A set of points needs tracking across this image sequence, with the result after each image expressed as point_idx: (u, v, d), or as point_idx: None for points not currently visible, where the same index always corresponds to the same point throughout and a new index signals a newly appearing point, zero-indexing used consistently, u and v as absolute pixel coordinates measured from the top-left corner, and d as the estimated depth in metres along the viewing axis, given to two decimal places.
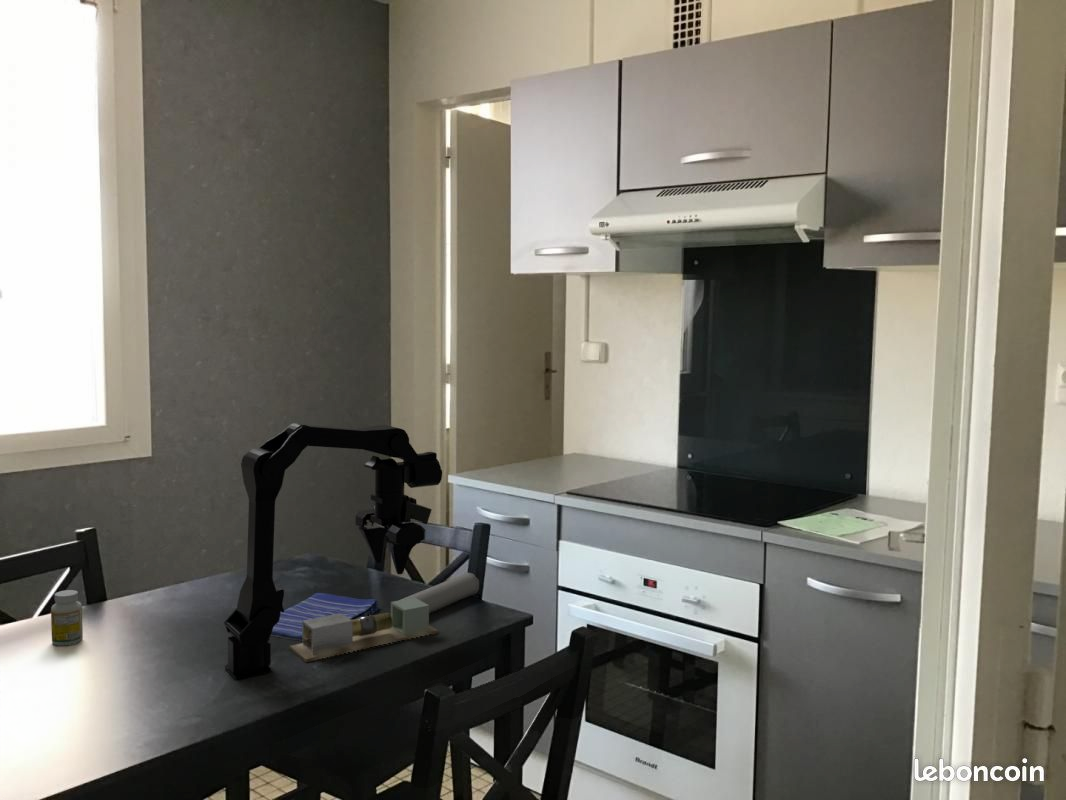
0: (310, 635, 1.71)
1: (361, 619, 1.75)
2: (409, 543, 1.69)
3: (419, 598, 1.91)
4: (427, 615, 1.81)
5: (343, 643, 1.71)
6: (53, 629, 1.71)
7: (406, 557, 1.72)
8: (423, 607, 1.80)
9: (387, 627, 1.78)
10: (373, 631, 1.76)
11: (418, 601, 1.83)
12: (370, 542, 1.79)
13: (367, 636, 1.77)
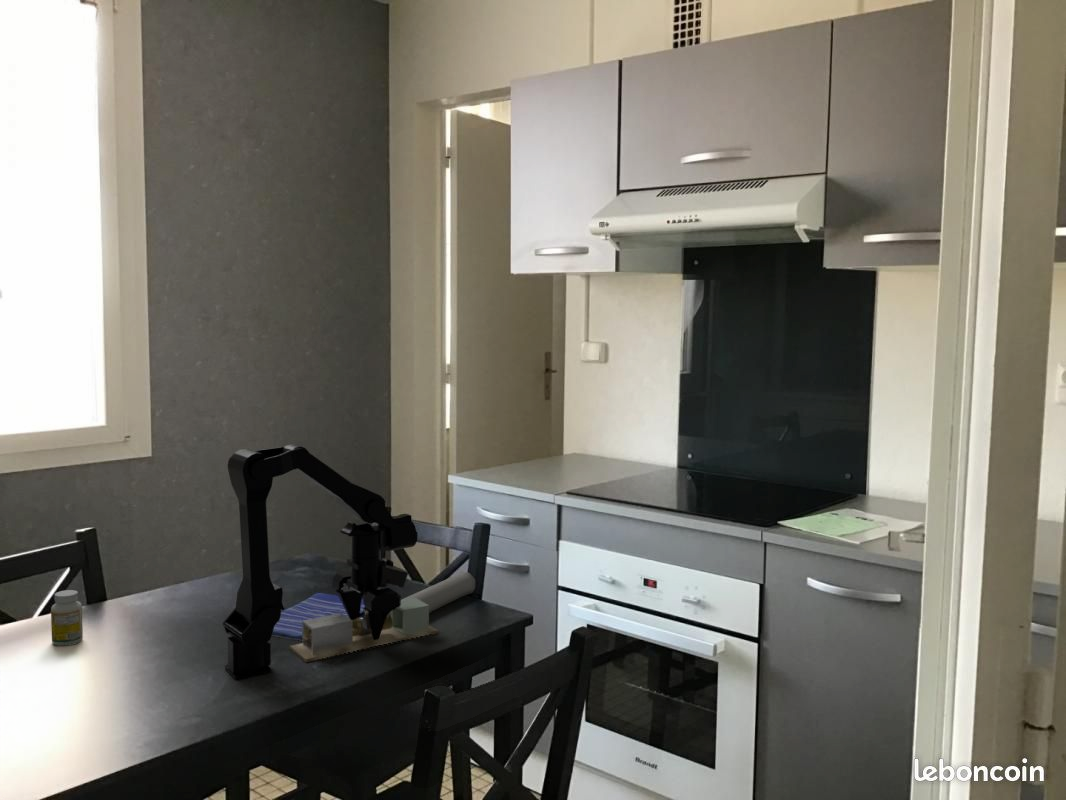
0: (310, 635, 1.71)
1: (361, 619, 1.75)
2: (384, 610, 1.69)
3: (419, 598, 1.91)
4: (427, 615, 1.81)
5: (343, 643, 1.71)
6: (53, 629, 1.71)
7: (382, 623, 1.72)
8: (423, 607, 1.80)
9: (387, 627, 1.78)
10: None
11: (418, 601, 1.83)
12: (347, 605, 1.79)
13: (367, 636, 1.77)
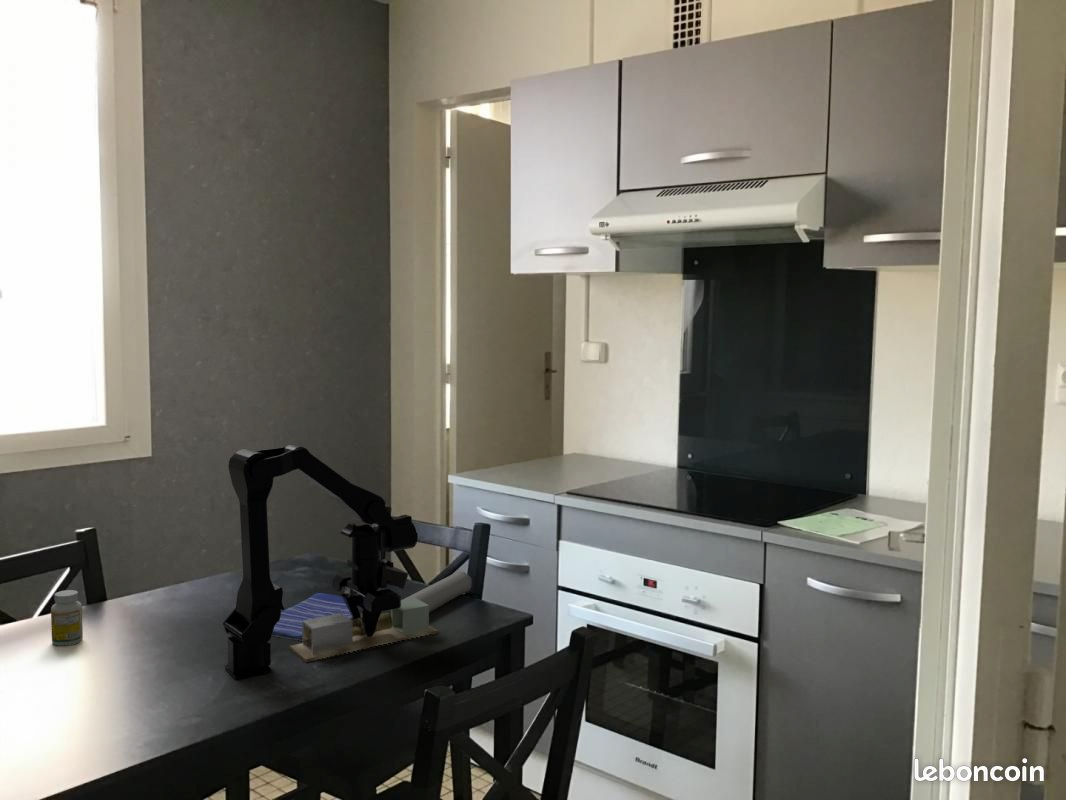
0: (310, 635, 1.71)
1: (361, 619, 1.75)
2: None
3: (419, 598, 1.91)
4: (427, 615, 1.81)
5: (343, 643, 1.71)
6: (53, 629, 1.71)
7: (376, 620, 1.74)
8: (423, 607, 1.80)
9: (387, 627, 1.78)
10: None
11: (418, 601, 1.83)
12: (353, 609, 1.77)
13: (367, 636, 1.77)
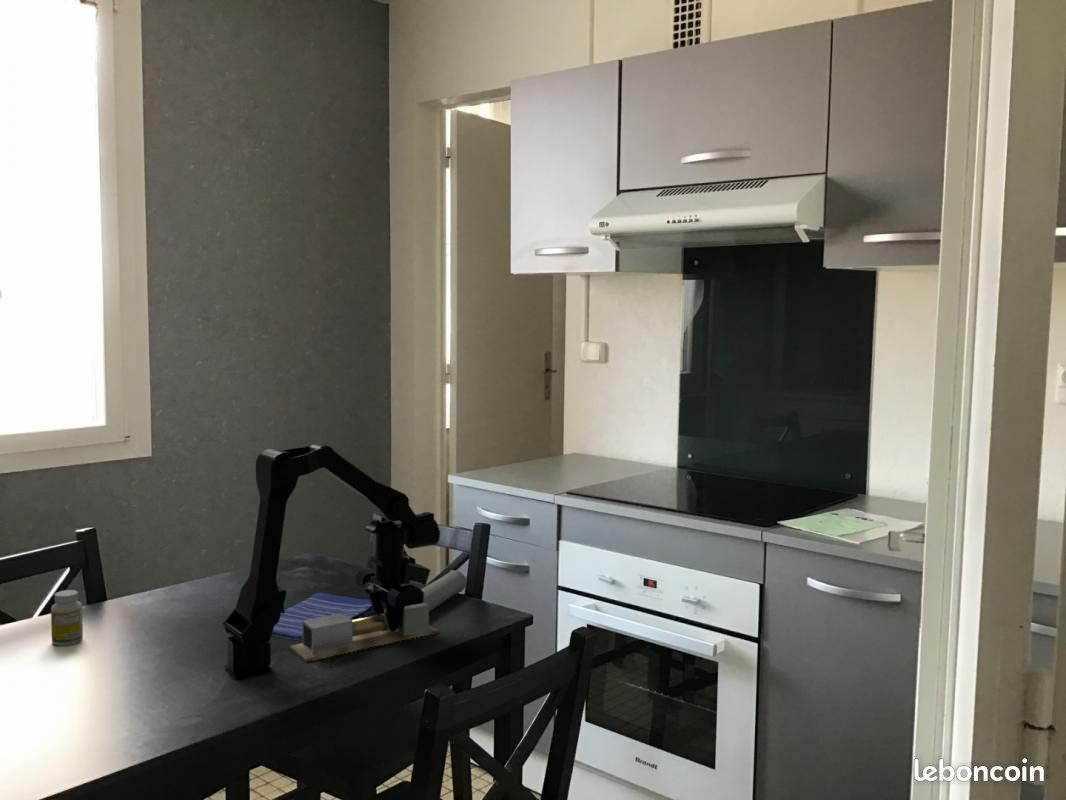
0: None
1: (384, 614, 1.78)
2: None
3: None
4: (427, 615, 1.81)
5: (343, 643, 1.71)
6: (53, 629, 1.71)
7: (399, 615, 1.77)
8: (423, 607, 1.80)
9: None
10: None
11: None
12: (376, 605, 1.80)
13: (367, 636, 1.77)
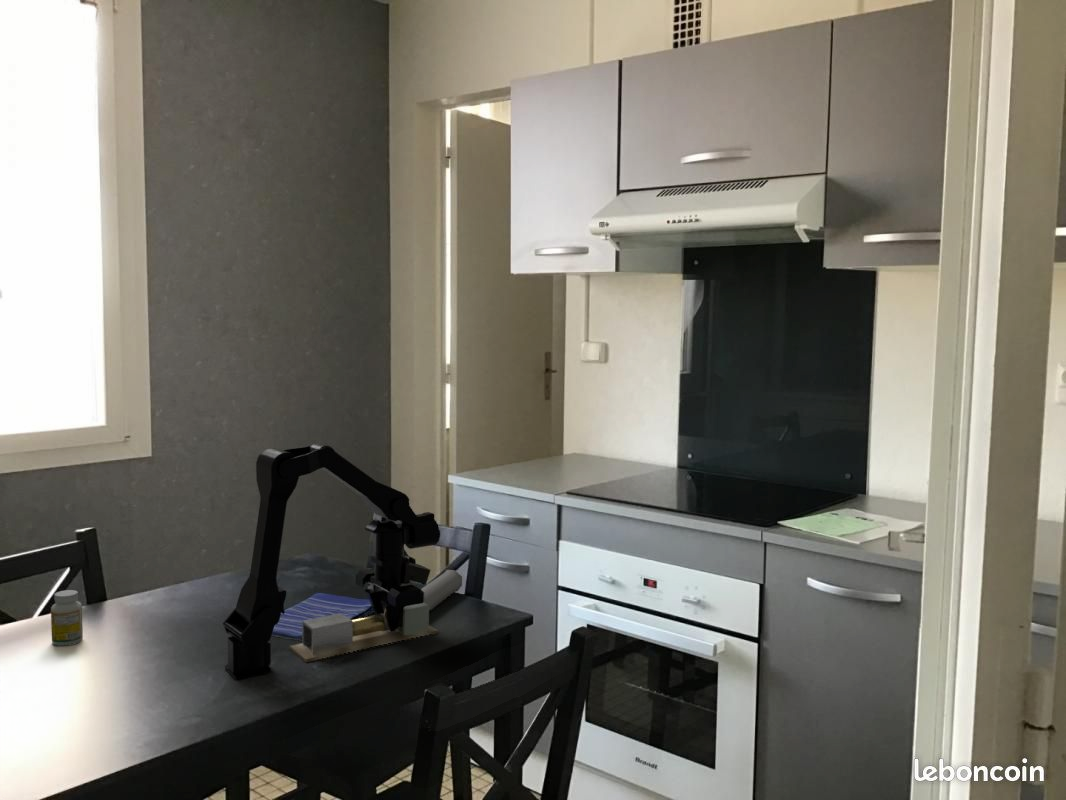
0: None
1: (384, 614, 1.78)
2: None
3: None
4: (427, 615, 1.81)
5: (343, 643, 1.71)
6: (53, 629, 1.71)
7: (399, 615, 1.77)
8: (423, 607, 1.80)
9: None
10: None
11: None
12: (376, 605, 1.80)
13: (367, 636, 1.77)
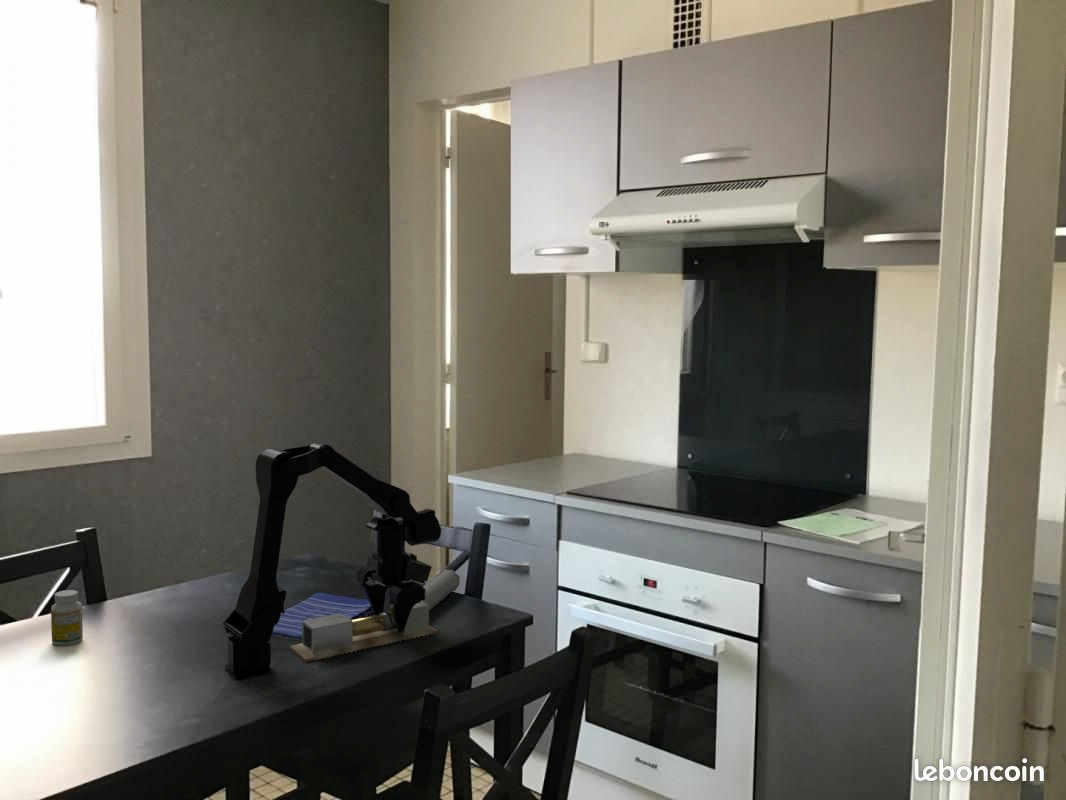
0: None
1: (384, 614, 1.78)
2: (410, 603, 1.73)
3: None
4: (427, 615, 1.81)
5: (343, 643, 1.71)
6: (53, 629, 1.71)
7: (407, 616, 1.75)
8: (423, 607, 1.80)
9: None
10: None
11: None
12: (371, 598, 1.82)
13: (367, 636, 1.77)
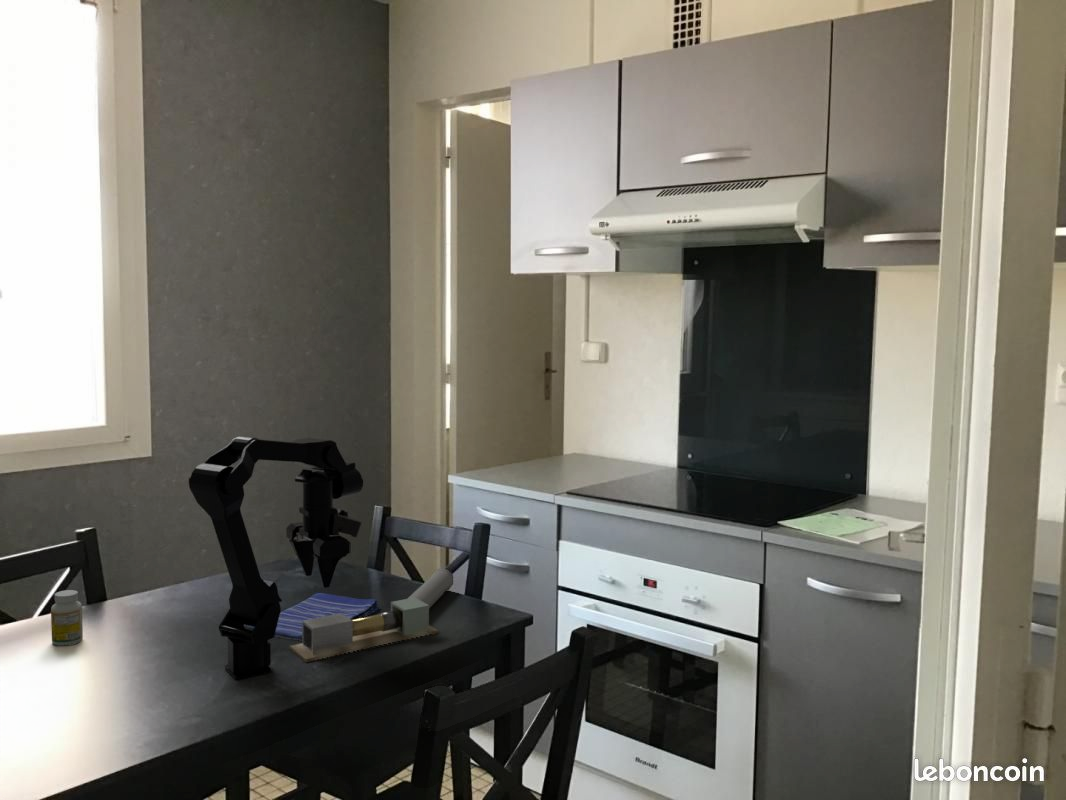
0: None
1: (384, 614, 1.78)
2: (334, 556, 1.69)
3: (420, 597, 1.91)
4: (427, 615, 1.81)
5: (343, 643, 1.71)
6: (53, 629, 1.71)
7: (332, 570, 1.71)
8: (423, 607, 1.80)
9: None
10: (396, 626, 1.79)
11: (418, 601, 1.83)
12: (300, 554, 1.78)
13: (367, 636, 1.77)
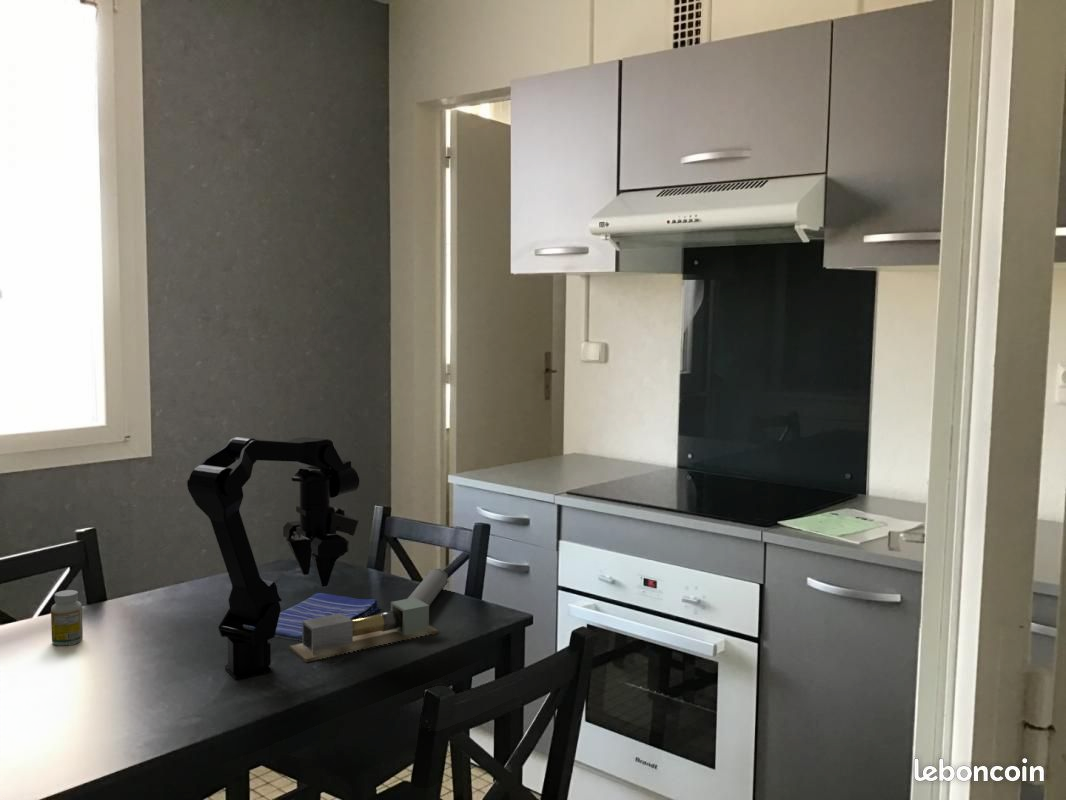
0: None
1: (384, 614, 1.78)
2: (332, 555, 1.69)
3: (420, 597, 1.91)
4: (427, 615, 1.81)
5: (343, 643, 1.71)
6: (53, 629, 1.71)
7: (330, 569, 1.71)
8: (423, 607, 1.80)
9: None
10: (396, 626, 1.79)
11: (418, 601, 1.83)
12: (297, 553, 1.78)
13: (367, 636, 1.77)
